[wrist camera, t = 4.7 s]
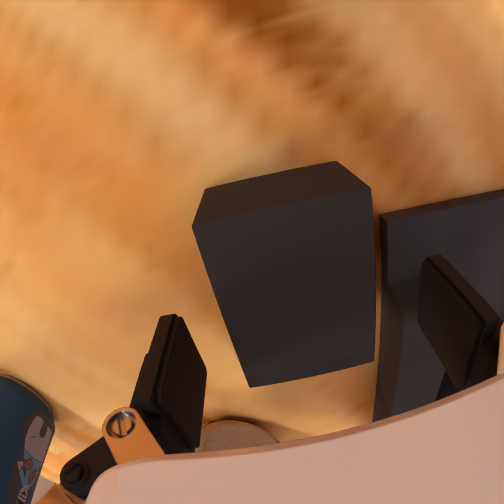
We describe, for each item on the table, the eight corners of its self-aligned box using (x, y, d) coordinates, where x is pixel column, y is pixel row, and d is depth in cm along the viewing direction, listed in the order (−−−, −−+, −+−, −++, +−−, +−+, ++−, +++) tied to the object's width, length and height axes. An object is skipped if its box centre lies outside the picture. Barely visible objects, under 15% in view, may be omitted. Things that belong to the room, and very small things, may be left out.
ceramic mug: (298, 424, 19) (310, 527, 12) (246, 468, 22) (247, 548, 15) (138, 380, 17) (107, 496, 10) (121, 435, 20) (100, 520, 13)
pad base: (379, 214, 12) (408, 245, 10) (551, 180, 11) (584, 198, 9) (367, 452, 22) (374, 478, 20) (481, 409, 21) (492, 430, 19)
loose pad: (204, 188, 12) (190, 225, 9) (336, 160, 11) (371, 187, 8) (247, 330, 15) (249, 388, 12) (351, 308, 15) (374, 361, 11)
